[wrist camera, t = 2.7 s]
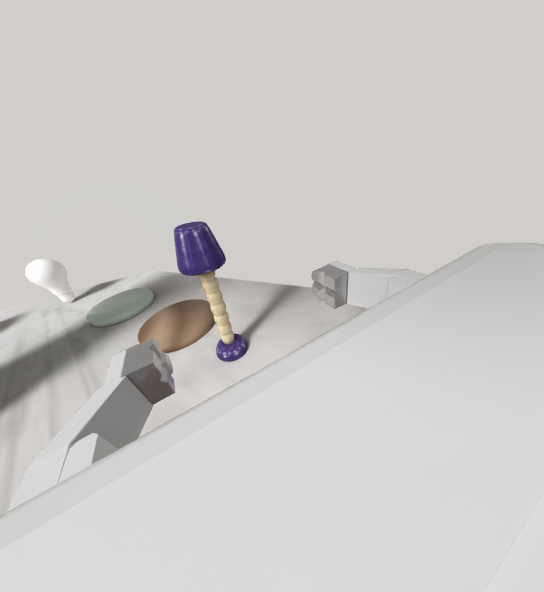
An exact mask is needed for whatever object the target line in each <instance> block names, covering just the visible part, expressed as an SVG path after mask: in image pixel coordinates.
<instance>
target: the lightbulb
mask: <svg viewBox="0 0 544 592" xmlns="http://www.w3.org/2000/svg"><path fill="white" fill-rule="evenodd" d="M25 274H26V276H27V278H28V279H29V280H30V281H32V282H33V283H35V284H37V285H40V286H42V287H44V288H46V289H48V290H50V291H51V292H52V293H53V294H54V295H56V296H58V297H59V298H60V299H61V300H62V301H63V302H72V301H74V299H75V298H76V296H75V295H74V293H73V292H72V291H71V287H70V286H69V284H68V281H67V272H66V269H65V268H64V266H63V265H61V264H60V263H59V262H57V261H54V260H50V259H38V260H35V261H33V262H31V263H29V264H28V266H27V267H26V270H25Z"/></svg>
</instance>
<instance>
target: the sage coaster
mask: <svg viewBox="0 0 544 592" xmlns="http://www.w3.org/2000/svg"><path fill="white" fill-rule="evenodd" d="M153 300H154V294H153V293H152V291H151V290H150V289H148V288H136V289H131V290H127V291H124V292H121V293H119V294H116V295H114V296H112V297H109V298H107V299H106V300H104V301H102V302H100V303H99V304H97V305H96V306H95V307H93V308H92V309H91V310H90V311H89V313H88V314H87V317H86V318H87V320H88V321H89V322H90V323H91V324H92V325H93V326H96V327H104V326H110V325H114V324H117V323H120V322H123V321H125V320H127V319H130V318H132V317H134V316H135V315H137V314H139V313H140V312H142V311H143V310H145V309H146V308H147V307H148V306H149V305H151V303H152V302H153Z"/></svg>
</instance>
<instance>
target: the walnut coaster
mask: <svg viewBox="0 0 544 592" xmlns="http://www.w3.org/2000/svg"><path fill="white" fill-rule="evenodd" d="M214 321H215V320H214V314H213V313H212V311H211V308H210V303H209V302H207V301H204V300H187V301H182V302H179V303H176V304H173V305H171V306H168V307H166V308H164V309H162V310H161V311H159V312H157V313H156V314H154V315H153V316H152V317H150V318H149V319H148V320H147V321H146V322H145V323H144V324H143V326H142V327H141V329H140V331H139V333H138V340H139V342H140V344H141V343H143V342H146V341H148V340H151V339H153V338H155V339H157V341H158V342H159V343H160V345H161V351H163V352H166V353H170V352H174V351H177V350H180V349H182V348H185V347H187V346H189V345H191V344H193V343H194V342H196V341H197V340H199V339H200V338H201V337H203V336H204V335H205V334H206V333H207V332H208V331H209V330H210V328H211V327H212V325H213V323H214Z"/></svg>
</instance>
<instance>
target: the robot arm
mask: <svg viewBox="0 0 544 592" xmlns="http://www.w3.org/2000/svg"><path fill="white" fill-rule="evenodd" d="M312 279H313V280H314V284H313V292H314V294H315V296H316V297H317V298H318V299H320V300H324V301H326V304H327V305H329V306H331V307H332V308H334V309H336V308H338V307H340V306H342V305H344V304H346V303H347V304H350V305H354V306H358V307H363V308H367V310H365V311H364V312H362V313H360V314H358V315H356V316H355V317H353V318H351V319H349V320H348V321H346V322H344V323H342V324H340V325H339V326H337V327H335V328H333V329H332V330H330V331H328V332H326V333H324V334H323V335H321V336H319V337H317V338H316V339H314V340H312V341H310V342H308V343H307V344H305V345H303V346H301V347H300V348H298V349H296V350H294V351H293V352H291V353H289V354H287V355H285V356H284V357H282V358H280V359H278V360H277V361H275V362H273V363H271V364H269V365H268V366H266V367H264V368H262V369H261V370H259V371H257V372H255V373H253V374H252V375H250V376H248V377H246V378H245V379H243V380H241V381H239V382H237V383H236V384H234V385H232V386H230V387H229V388H227V389H225V390H223V391H221V392H220V393H218V394H216V395H214V396H213V397H211V398H209V399H207V400H205V401H204V402H202V403H200V404H198V405H197V406H195V407H193V408H191V409H189V410H188V411H186V412H184V413H182V414H181V415H179V416H177V417H175V418H173V419H172V420H170V421H168V422H166V423H165V424H163V425H161V426H159V427H157V428H156V429H154V430H152V431H150V432H149V433H147V434H145V435H143V436H141V437H140V438H138V437H139V435H140V432H141V430H142V428H143V426H144V424H145V422H146V420H147V418H148V416H149V414H150V412H151V409H152V407H153V404H155V403H157V402H159V401H161V400H162V399H164V398H166V397H168V396H170V395H171V394H173V393H175V386H174V379H173V378H172V376H171V375H172V373H173V368H172V364H171V361H170V359H169V357H168V355H167V354H166V352H163V351H161V345H160V343H159V342H158V341H157V339H155V338H153V339H151V340H148V341H146V342H143V343H141V344H138V345H136V346H133V347H131V348H128V349H126V350H123V351H121V352H119V353H116V354H114V355H113V356H112V357H111V361H110V365H109V369H108V372H107V376H106V380H105V384H104V386H102V387H100V388H99V389H98V390H97V391H96V392H95V393H94V394H93V395H92V396H91V397H90V398H89V400H88V401H87V402H86V403H85V404H84V405H83V406H82V407H81V408H80V409H79V411H78V412H77V413H76V414H75V415H74V416H73V417H72V418H71V419H70V420H69V421H68V423H67V424H66V425H65V426H64V427H63V428H62V429H61V430H60V431H59V432H58V434H57V435H56V436H55V437H54V438H53V439H52V440H51V441H50V442H49V443H48V444H47V446H46V447H45V448H44V449H43V450H42V451H41V452H40V453H39V454H38V455H37V457H36V458H35V459H34V460H33V461H32V462H31V463H30V464H29V466H28V468H27V470H26V472H25V474H24V476H23V479H22V481H21V483H20V485H19V487H18V489H17V491H16V494H15V496H14V498H13V500H12V502H11V504H10V507H9V509H8V511H7V512H6V513H5V514H3V515H1V516H0V592H544V244H536V243H495V244H485V245H482V246H479V247H477V248H475V249H474V250H472V251H470V252H468V253H466V254H465V255H463V256H461V257H459V258H458V259H456V260H454V261H452V262H451V263H449V264H447V265H445V266H443V267H442V268H440V269H438V270H436V271H435V272H433V273H431V274H429V275H425V274H422V273H418V272H415V271H412V270H409V269H378V268H377V269H376V268H359V269H356V268H354V267H351V266H348V265H345V264H343V263H340V262H332V263H330V264H328V265H326V266H324V267H322V268H319V269H317V270H315V271H313V272H312Z"/></svg>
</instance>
